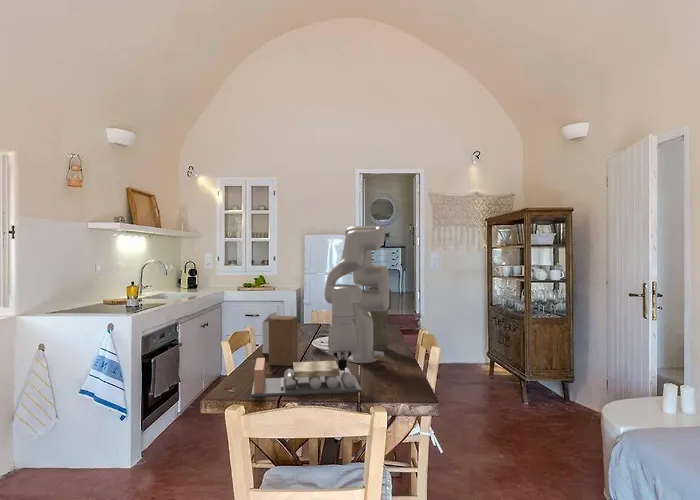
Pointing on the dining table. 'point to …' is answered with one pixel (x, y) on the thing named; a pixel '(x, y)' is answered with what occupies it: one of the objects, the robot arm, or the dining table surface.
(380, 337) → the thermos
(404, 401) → the dining table surface
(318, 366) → the slab
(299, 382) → the roller bed
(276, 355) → the wooden block
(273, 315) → the milk carton
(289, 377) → the roller
